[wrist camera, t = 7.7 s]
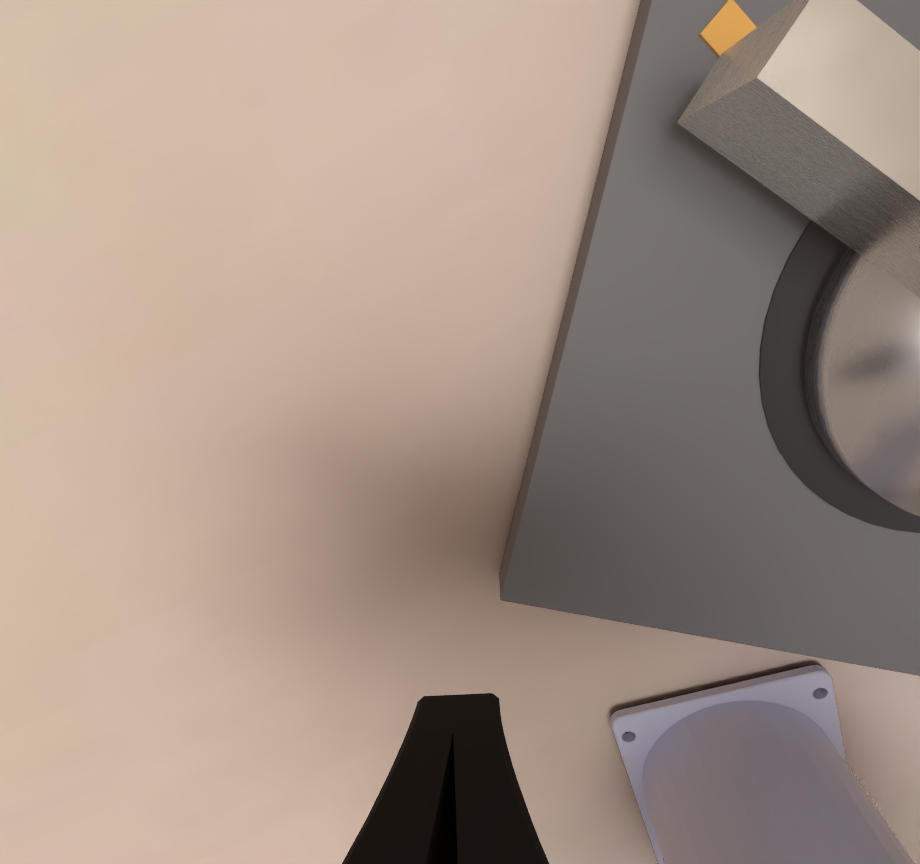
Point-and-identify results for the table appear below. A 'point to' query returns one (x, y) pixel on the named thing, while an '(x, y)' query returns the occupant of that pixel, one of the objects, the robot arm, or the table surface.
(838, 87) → the dial
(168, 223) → the table surface
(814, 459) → the dial plate
